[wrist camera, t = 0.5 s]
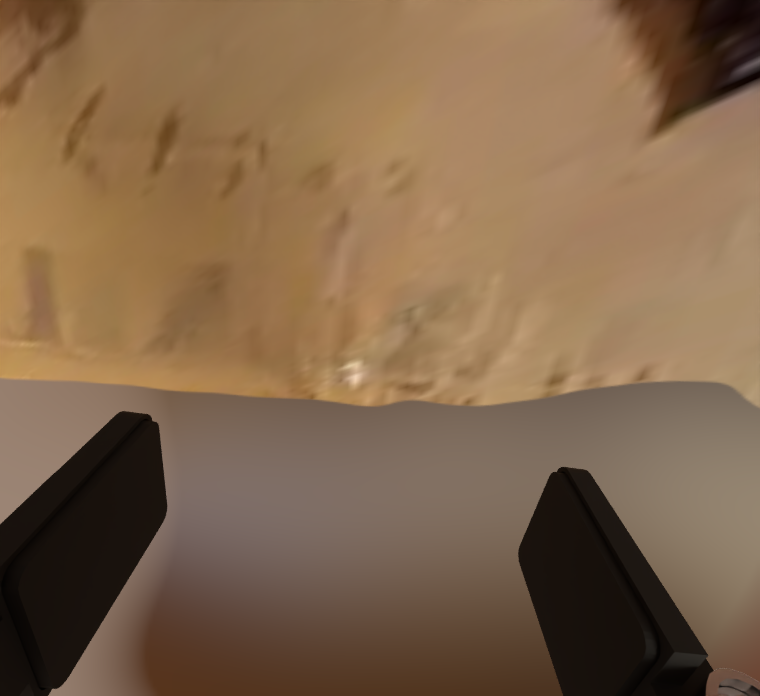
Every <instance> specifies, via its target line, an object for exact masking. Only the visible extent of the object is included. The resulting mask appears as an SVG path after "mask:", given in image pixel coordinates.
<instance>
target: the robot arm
mask: <svg viewBox="0 0 760 696" xmlns="http://www.w3.org/2000/svg"><path fill="white" fill-rule="evenodd" d="M161 452H162V451H161V442H160V433H159V425H158V423H157V422H153V421H152V418H151V416H150V415H148V414H142V413H134V412H126V411H122V412H119V413H118V414H117V415H115V416H114V417H113V418H112V419H111V420H110V421H109V422H108V423H107V424H106V425H105V426H104V427H103V428H102V429H101V430H100V431H99V432H98V433H97V434H96V435H95V436H93V437H92V438H91V439H90V440H89V441H88V442H87V443H86V444H85V445H84V446H83V447H82V448H81V449H80V450H79V451H78V452H77V453H76V454H75V455H73V456H72V457H71V459H69V460H68V461H67V462H66V463H65V464H64V465H63V466H62V467H61V468H60V469H59V470H58V471H56V472H55V473H54V474H53V475H52V476H51V477H50V478H49V479H48V480H46V481H45V482H44V483H43V484H42V485H41V486H40V487H39V488H38V489H37V490H36V491H35V492H34V493H33V494H32V495H31V496H30V497H29V498H28V499H26V500H25V501H24V502H23V503H22V504H21V505H20V506H19V507H18V508H17V509H16V510H15V511H14V512H13V513H12V514H11V515H10V516H9V517H8V518H7V519H5V520H4V522H2V523H1V524H0V696H48V695H49V693H50V692H51V690H52V689H57V688H59V687H60V686H61V685H63V683H64V682H65V681H66V680H67V678H68V677H69V675H70V674H71V672H72V670H73V669H74V667H75V666H76V664H77V662H78V661H79V659H80V657H81V656H82V654H83V653H84V650H85V649H86V648H87V646H88V644H89V643H90V641H91V639H92V638H93V636H94V634H95V633H96V631H97V630H98V628H99V626H100V625H101V623H102V621H103V620H104V618H105V616H106V615H107V613H108V611H109V610H110V608H111V607H112V605H113V603H114V602H115V600H116V598H117V597H118V595H119V594H120V592H121V590H122V589H123V587H124V585H125V584H126V582H127V580H128V579H129V577H130V576H131V574H132V572H133V571H134V569H135V567H136V566H137V564H138V562H139V561H140V559H141V558H142V556H143V554H144V553H145V551H146V549H147V548H148V546H149V544H150V543H151V541H152V540H153V538H154V536H155V535H156V532H157V531H158V529H159V528H160V526H161V525H162V523H163V521H164V519H165V516H166V512H167V499H166V489H165V480H164V470H163V461H162V453H161ZM518 555H519V556H518V557H519V563H520V566H521V569H522V572H523V575H524V578H525V581H526V584H527V587H528V591H529V593H530V596H531V600H532V603H533V606H534V609H535V611H536V615H537V618H538V621H539V624H540V627H541V630H542V633H543V636H544V639H545V642H546V645H547V648H548V651H549V654H550V657H551V659H552V663H553V666H554V669H555V672H556V675H557V678H558V681H559V684H560V687H561V690H562V693H563V696H760V682H758V681H756V680H755V679H753V678H751V677H749V676H748V675H746V674H744V673H741V672H738V671H735V670H732V669H717V670H715V671H714V670H713V669H712V667H711V666H710V664H709V663H708V661H707V660H706V657H707V656H708V654H707V653H706V651H705V650H704V648H703V647H702V645H701V643H700V642H699V641H698V639H697V637H696V636H695V634H694V633H693V631H692V630H691V628H690V626H689V625H688V624H687V622H686V620H685V619H684V617H683V616H682V614H681V613H680V611H679V610H678V608H677V607H676V605H675V603H674V602H673V600H672V599H671V597H670V596H669V594H668V593H667V591H666V590H665V588H664V586H663V585H662V583H661V582H660V580H659V579H658V577H657V576H656V574H655V573H654V571H653V570H652V568H651V566H650V565H649V563H648V562H647V560H646V559H645V557H644V556H643V554H642V553H641V551H640V549H639V548H638V546H637V545H636V543H635V542H634V540H633V539H632V537H631V536H630V534H629V532H628V531H627V529H626V528H625V526H624V525H623V523H622V522H621V520H620V519H619V517H618V516H617V514H616V513H615V511H614V510H613V508H612V506H611V505H610V503H609V502H608V500H607V499H606V497H605V496H604V494H603V492H602V491H601V489H600V488H599V486H598V485H597V483H596V482H595V480H594V479H593V477H592V476H591V474H590V473H589V472H588V471H587V470H583V469H576V468H568V467H561V468H559V469H558V471H557V472H553V473H551V475H550V476H549V479H548V481H547V484H546V486H545V488H544V491H543V493H542V495H541V498H540V500H539V502H538V504H537V507H536V509H535V511H534V514H533V517H532V518H531V521H530V523H529V526H528V528H527V530H526V533H525V535H524V537H523V540H522V542H521V544H520V547H519V552H518Z"/></svg>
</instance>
